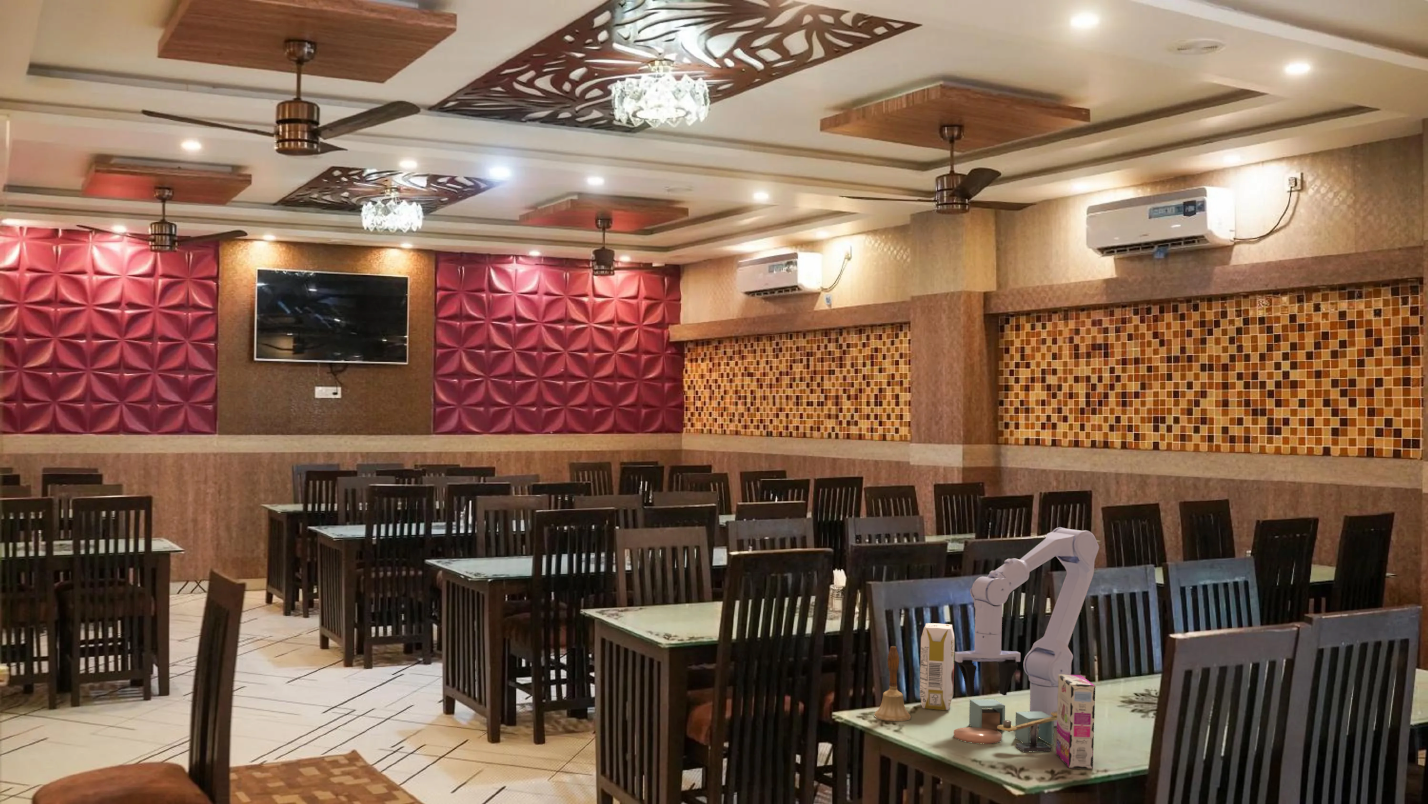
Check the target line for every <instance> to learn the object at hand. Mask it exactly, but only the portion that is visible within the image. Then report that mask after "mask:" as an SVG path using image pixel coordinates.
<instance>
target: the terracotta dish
mask: <svg viewBox="0 0 1428 804" xmlns="http://www.w3.org/2000/svg"><path fill="white" fill-rule="evenodd" d="M1002 736H1003V734H1002V733H1001V732H1000V731H995V730H991V729H986V728H977V727H971V726H970V727H969V726H967V727H959V728H956V729H954V730H953V738H954V737H955V738H954V739H956V740H957V739H959V740H958V741H960V740H962V741H961V742H964V741H966V742H965V743H968V742H972V743H971V744H976V743H979V744H980V743H982V744H980V745H991V744H992V743H993V744H998V743H1001V742H1002V741H1003V740H1002V739H1003V737H1002ZM997 742H998V743H997ZM983 743H984V744H983ZM979 744H978V745H979Z"/></svg>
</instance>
